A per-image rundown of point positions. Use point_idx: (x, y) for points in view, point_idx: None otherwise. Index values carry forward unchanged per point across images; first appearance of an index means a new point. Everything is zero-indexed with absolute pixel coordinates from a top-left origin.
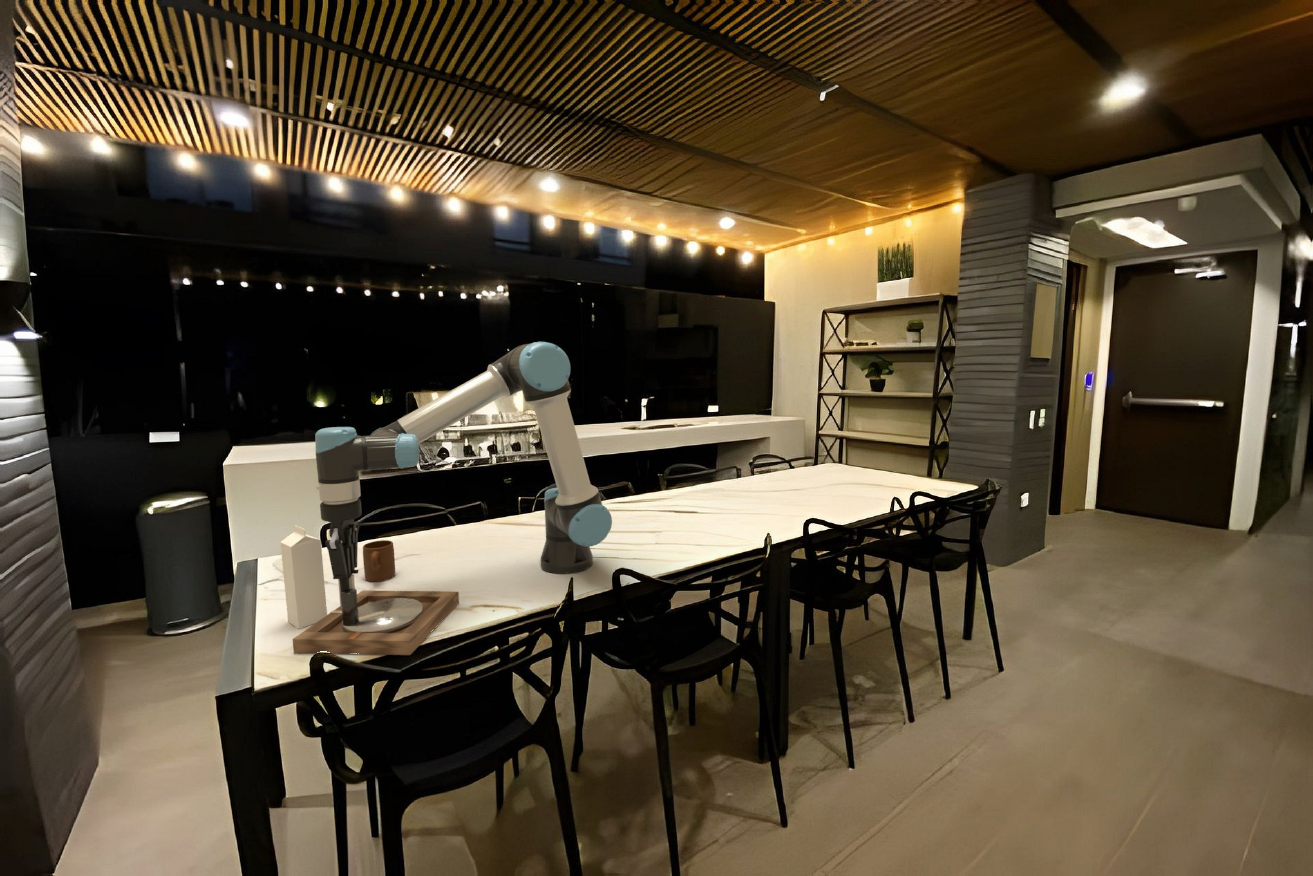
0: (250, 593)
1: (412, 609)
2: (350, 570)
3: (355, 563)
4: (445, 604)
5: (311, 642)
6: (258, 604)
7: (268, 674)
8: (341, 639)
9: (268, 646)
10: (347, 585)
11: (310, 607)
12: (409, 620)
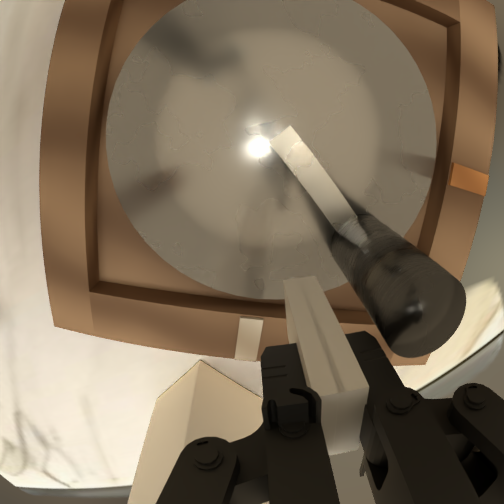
0: (100, 492)
1: (252, 13)
2: (397, 438)
3: (230, 478)
4: None
5: None
6: None
7: (478, 332)
8: (476, 219)
9: None
10: (384, 362)
11: (234, 424)
12: (359, 5)
